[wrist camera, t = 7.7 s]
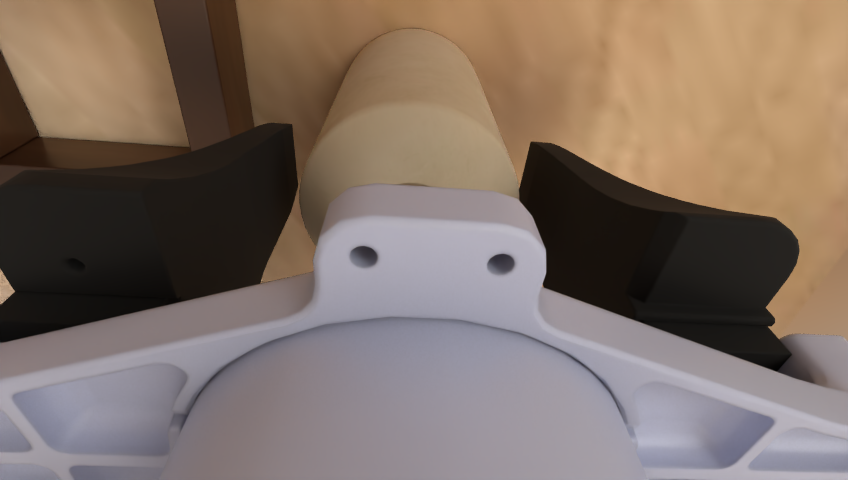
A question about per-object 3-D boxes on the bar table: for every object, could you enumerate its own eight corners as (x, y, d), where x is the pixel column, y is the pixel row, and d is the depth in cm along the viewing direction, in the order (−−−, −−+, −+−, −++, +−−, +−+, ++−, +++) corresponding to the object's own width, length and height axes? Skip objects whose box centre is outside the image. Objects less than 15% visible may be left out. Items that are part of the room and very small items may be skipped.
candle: (472, 13, 16) (529, 106, 8) (484, 150, 19) (535, 316, 11) (327, 40, 16) (242, 155, 8) (363, 169, 20) (327, 342, 12)
